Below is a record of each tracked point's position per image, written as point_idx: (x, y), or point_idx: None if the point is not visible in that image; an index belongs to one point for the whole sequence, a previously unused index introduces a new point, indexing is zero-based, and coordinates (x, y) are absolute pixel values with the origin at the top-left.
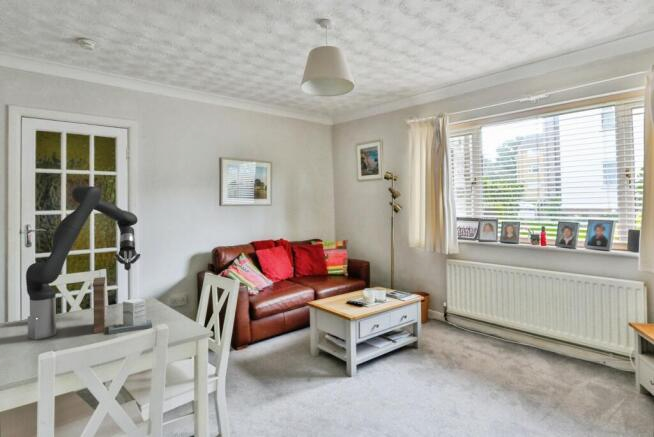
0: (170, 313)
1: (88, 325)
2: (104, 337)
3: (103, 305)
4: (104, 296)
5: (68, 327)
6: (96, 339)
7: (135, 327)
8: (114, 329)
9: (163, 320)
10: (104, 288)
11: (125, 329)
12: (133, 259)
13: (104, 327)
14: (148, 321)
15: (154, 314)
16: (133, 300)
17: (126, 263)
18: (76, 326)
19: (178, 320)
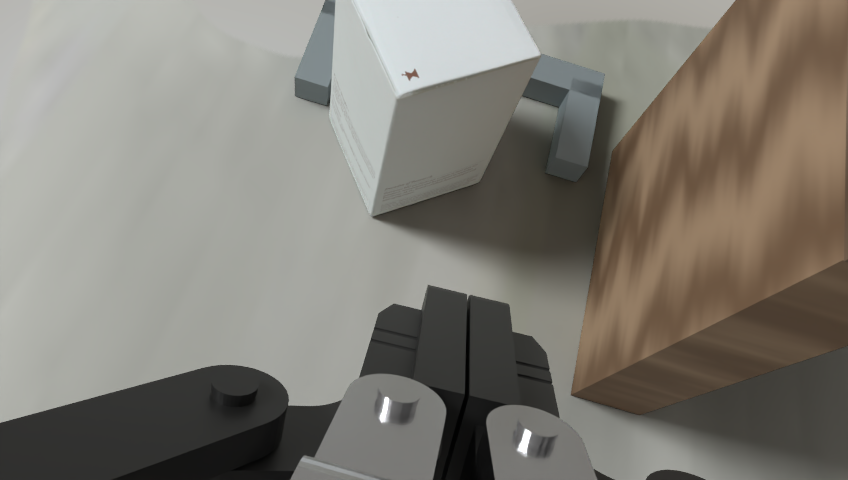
0: (12, 251)
1: (691, 414)
2: (622, 60)
3: (722, 20)
4: (723, 190)
5: (827, 475)
6: (666, 61)
7: None
8: (570, 64)
9: (180, 105)
10: (778, 179)
11: None
12: (205, 419)
13: (604, 219)
14: (326, 55)
15: (141, 332)
16: (449, 10)
17: (508, 383)
18: (774, 457)
19: (95, 23)
